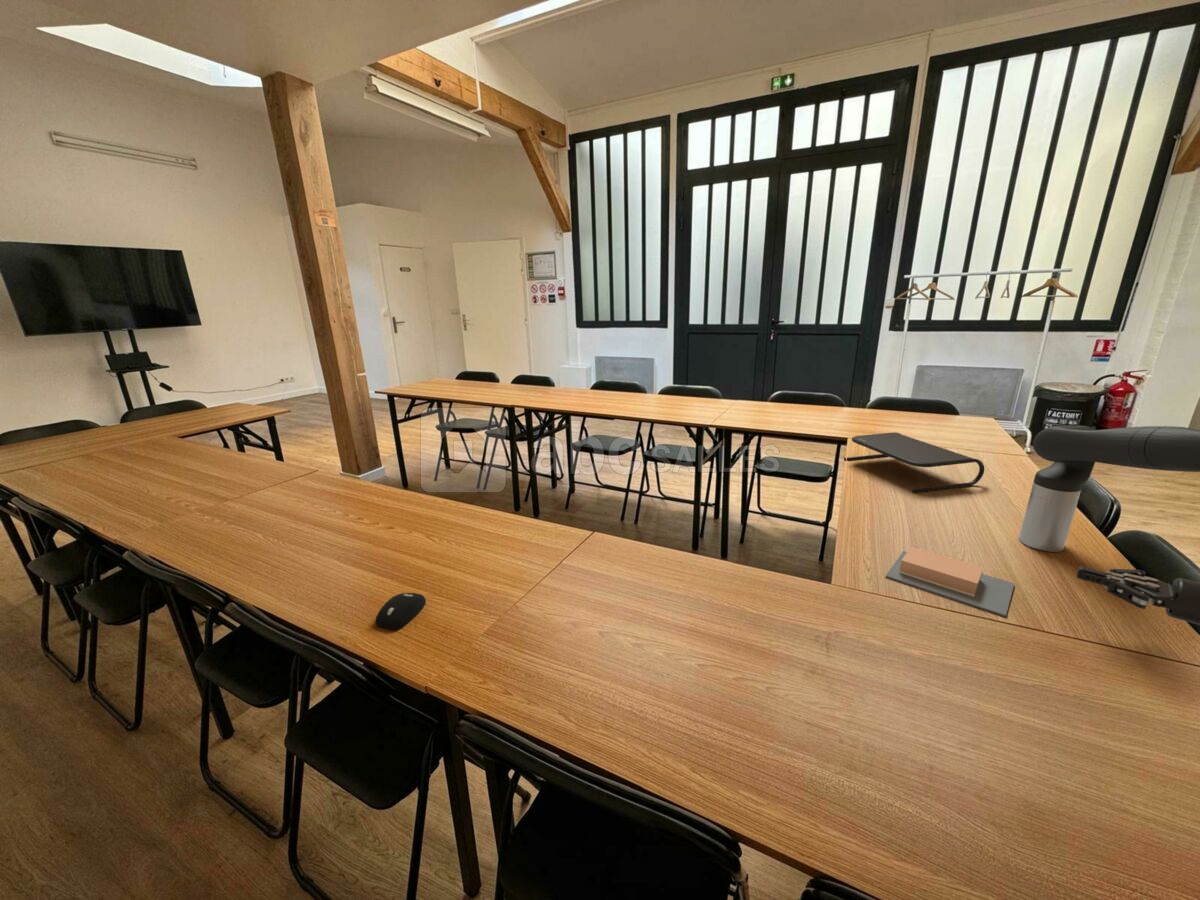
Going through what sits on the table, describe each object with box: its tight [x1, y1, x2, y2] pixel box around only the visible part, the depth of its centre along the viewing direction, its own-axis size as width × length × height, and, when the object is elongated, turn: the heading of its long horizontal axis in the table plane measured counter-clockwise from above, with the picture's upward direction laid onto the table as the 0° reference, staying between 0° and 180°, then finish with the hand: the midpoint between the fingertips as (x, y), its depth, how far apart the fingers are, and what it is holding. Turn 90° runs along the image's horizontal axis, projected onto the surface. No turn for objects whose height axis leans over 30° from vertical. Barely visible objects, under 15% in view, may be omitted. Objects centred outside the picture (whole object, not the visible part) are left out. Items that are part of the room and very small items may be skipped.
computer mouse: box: [375, 592, 427, 631], centre depth 109 cm, size 8×12×4 cm, turn 161°
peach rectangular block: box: [899, 546, 984, 597], centre depth 115 cm, size 9×4×15 cm
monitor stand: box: [843, 431, 985, 494], centre depth 183 cm, size 37×28×11 cm
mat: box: [885, 550, 1015, 618], centre depth 115 cm, size 16×23×1 cm
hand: (1078, 571), depth 98 cm, fingers closed
